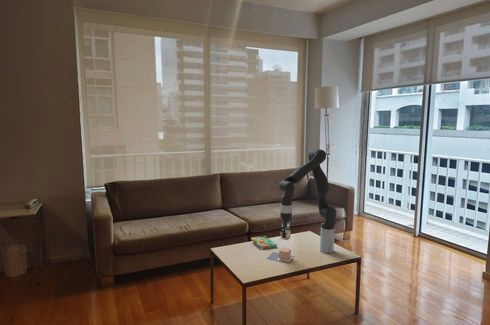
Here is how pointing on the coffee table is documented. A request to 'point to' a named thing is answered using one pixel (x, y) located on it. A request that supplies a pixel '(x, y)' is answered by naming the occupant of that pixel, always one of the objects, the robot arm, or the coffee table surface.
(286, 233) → the maple cube
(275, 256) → the blueprint board
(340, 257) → the coffee table surface
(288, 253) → the terracotta base block
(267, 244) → the puzzle game
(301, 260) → the coffee table surface
